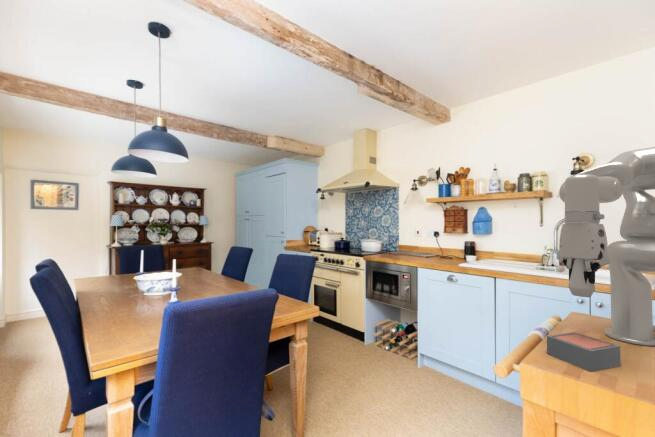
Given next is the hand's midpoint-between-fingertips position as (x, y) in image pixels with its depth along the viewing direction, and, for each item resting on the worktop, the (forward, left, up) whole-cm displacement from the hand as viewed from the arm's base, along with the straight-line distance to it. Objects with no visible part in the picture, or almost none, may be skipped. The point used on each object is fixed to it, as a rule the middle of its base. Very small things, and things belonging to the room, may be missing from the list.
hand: (581, 284), depth 85 cm
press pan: (+3, +1, -16) cm, 16 cm away
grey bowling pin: (0, 0, -3) cm, 3 cm away
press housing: (+3, +1, -20) cm, 20 cm away
